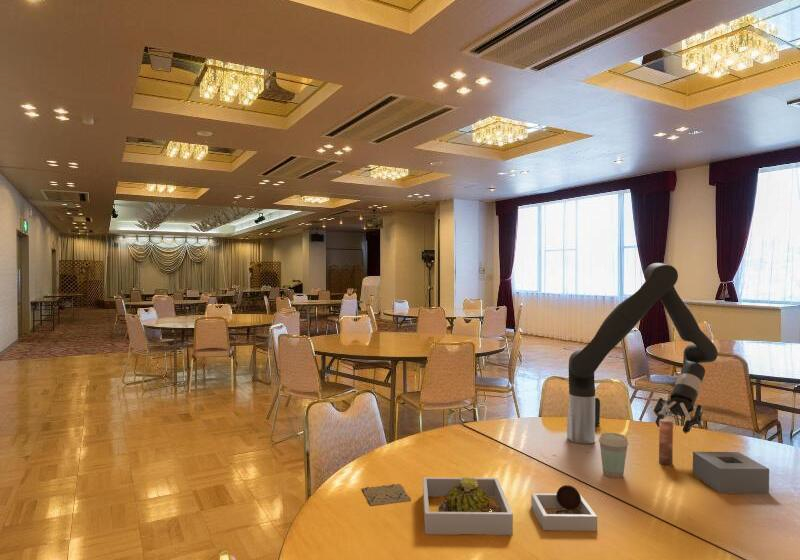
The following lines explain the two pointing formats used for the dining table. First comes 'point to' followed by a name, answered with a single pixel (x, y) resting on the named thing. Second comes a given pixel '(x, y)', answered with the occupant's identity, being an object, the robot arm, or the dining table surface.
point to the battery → (597, 411)
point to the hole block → (731, 472)
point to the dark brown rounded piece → (567, 499)
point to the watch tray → (562, 521)
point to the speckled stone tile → (385, 494)
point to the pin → (665, 442)
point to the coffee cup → (613, 454)
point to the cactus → (467, 498)
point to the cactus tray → (466, 520)
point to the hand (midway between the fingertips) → (671, 428)
